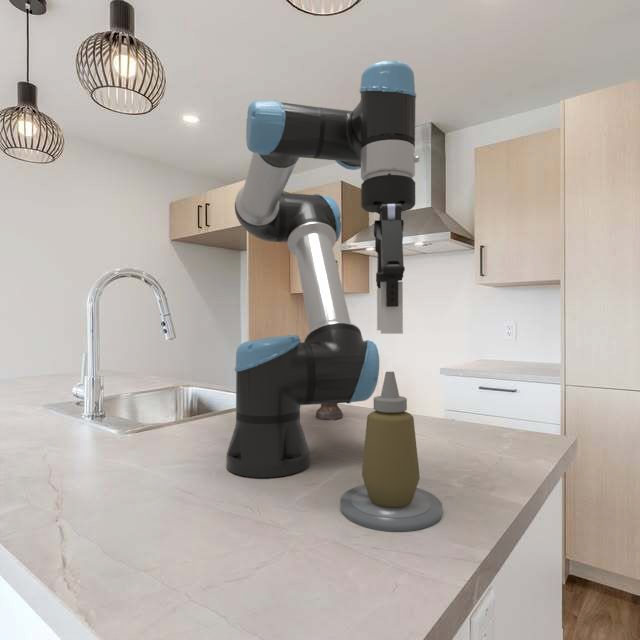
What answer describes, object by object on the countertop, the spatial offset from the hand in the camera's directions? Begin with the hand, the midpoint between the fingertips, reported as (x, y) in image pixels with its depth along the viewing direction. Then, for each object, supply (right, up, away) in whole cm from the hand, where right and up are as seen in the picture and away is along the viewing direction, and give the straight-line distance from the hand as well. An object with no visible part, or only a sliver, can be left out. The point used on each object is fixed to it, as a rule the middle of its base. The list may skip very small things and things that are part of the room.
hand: (388, 332), depth 65 cm
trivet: (0, -25, 0) cm, 25 cm away
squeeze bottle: (0, -24, 0) cm, 24 cm away
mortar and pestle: (-8, -25, +61) cm, 66 cm away
